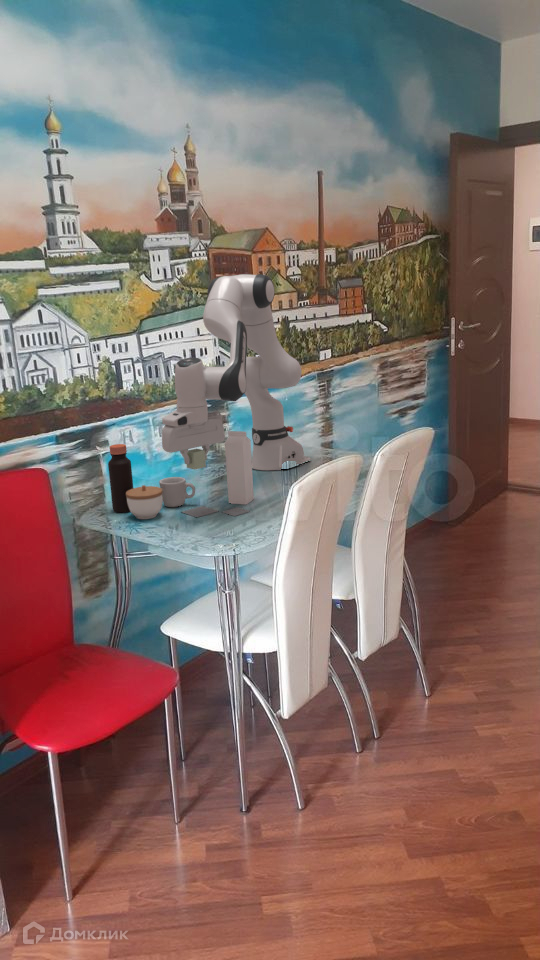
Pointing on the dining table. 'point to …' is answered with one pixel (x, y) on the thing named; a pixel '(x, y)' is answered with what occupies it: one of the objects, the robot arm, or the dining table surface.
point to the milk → (239, 468)
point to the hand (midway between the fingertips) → (195, 462)
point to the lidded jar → (145, 501)
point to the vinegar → (120, 477)
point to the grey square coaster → (236, 511)
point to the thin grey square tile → (200, 511)
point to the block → (196, 459)
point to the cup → (175, 491)
